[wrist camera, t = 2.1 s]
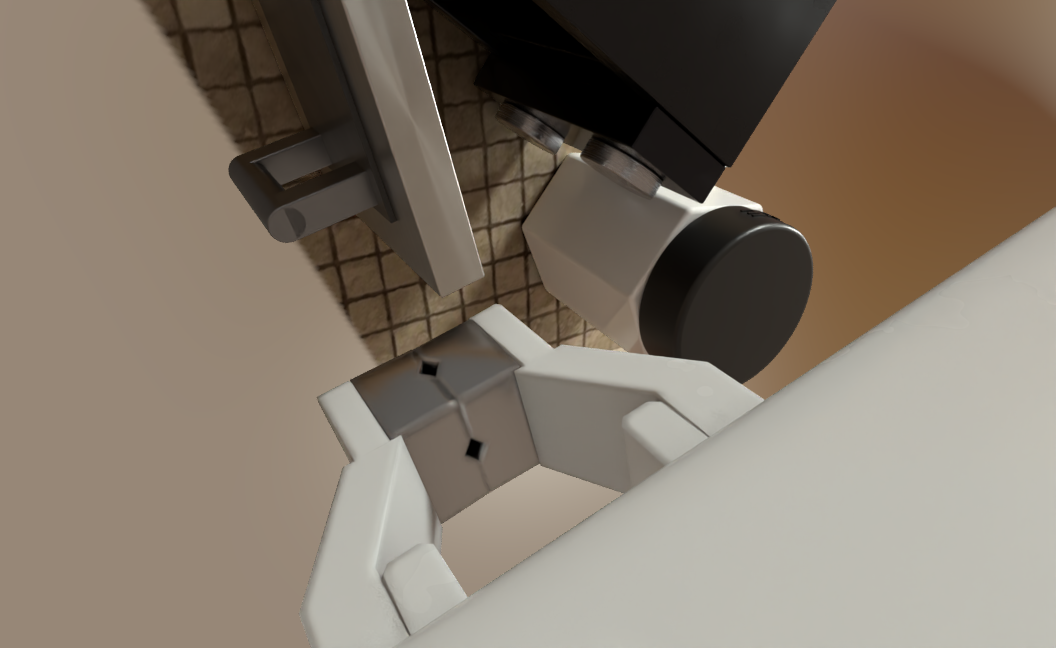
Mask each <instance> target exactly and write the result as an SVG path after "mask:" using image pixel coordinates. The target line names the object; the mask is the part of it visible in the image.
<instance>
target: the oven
mask: <svg viewBox="0 0 1056 648" xmlns="http://www.w3.org/2000/svg"><path fill="white" fill-rule="evenodd" d="M423 1H425V2H426V3H427V4H428V5H430V6H431V7H432V8H434V9H435V10H436V11H437V12H439V13H440V14H441V15H443V16H444V17H445V18H446V19H448V20H449V21H450V22H452V23H453V24H454V25H455V26H457V27H458V28H459V29H461V30H462V31H463V32H464V33H466V34H467V35H468V36H470V37H471V38H472V39H473V40H475V41H476V42H477V43H479V44H480V45H481V46H482V47H484V48H485V49H486V50H488V51H489V52H490V54H489V56H488V58H487V59H486V61H485V63H484V65H483V67H482V68H481V70H480V72H479V74H478V75H477V77H476V79H475V81H474V83H473V84H474V85H475V86H476V87H478V88H479V89H480V90H482V91H483V92H485V93H486V94H487V95H489V96H490V97H491V98H493V99H494V100H496V101H497V102H498V103H500V104H501V106H500V107H499V109H498V111H497V113H496V114H495V118H496V120H498V121H499V122H500V123H501V124H503V125H504V126H505V127H507V128H508V129H510V130H511V131H512V132H514V133H516V134H517V135H519V136H520V137H522V138H523V139H525V140H527V141H528V142H530V143H532V144H533V145H535V146H537V147H539V148H540V149H542V150H544V151H546V152H548V153H550V154H554V155H555V154H556V153H557V151H558V150H559V148H560V146H561V145H562V143H565V144H568V145H570V146H572V147H574V148H577V149H579V150H581V151H582V153H581V154H580V158H581V159H582V160H583V161H584V162H585V163H586V164H588V165H589V166H590V167H592V168H593V169H595V170H596V171H597V172H599V173H600V174H602V175H603V176H605V177H607V178H608V179H610V180H611V181H613V182H615V183H616V184H618V185H620V186H621V187H623V188H625V189H627V190H629V191H630V192H632V193H634V194H636V195H638V196H640V197H643V198H645V199H648V200H652V199H653V198H654V196H655V194H656V193H657V191H658V190H659V188H660V186H662V187H664V188H667V189H669V190H671V191H673V192H676V193H678V194H680V195H682V196H685V197H687V198H689V199H691V200H694V201H696V202H698V203H700V204H703V203H704V201H705V200H706V198H707V197H708V195H709V194H710V192H711V190H712V189H713V187H714V186H715V184H716V182H717V181H718V179H719V178H720V176H721V175H722V173H723V171H724V170H725V166H726V167H731V166H732V165H733V163H734V162H735V160H736V159H737V157H738V155H739V154H740V152H741V151H742V149H743V147H744V146H745V144H746V142H747V141H748V140H749V138H750V136H751V135H752V133H753V132H754V130H755V128H756V127H757V125H758V124H759V122H760V121H761V119H762V117H763V116H764V114H765V113H766V111H767V109H768V108H769V106H770V105H771V103H772V102H773V100H774V98H775V97H776V95H777V94H778V92H779V91H780V89H781V87H782V86H783V84H784V82H785V81H786V79H787V78H788V76H789V75H790V73H791V71H792V70H793V68H794V67H795V65H796V64H797V62H798V60H799V59H800V57H801V56H802V54H803V53H804V51H805V49H806V48H807V46H808V44H809V43H810V42H811V40H812V38H813V37H814V35H815V34H816V32H817V31H818V29H819V27H820V26H821V24H822V22H823V21H824V19H825V18H826V16H827V15H828V13H829V11H830V10H831V8H832V7H833V5H834V4H835V2H836V0H423Z"/></svg>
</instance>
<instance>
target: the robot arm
mask: <svg viewBox="0 0 1056 648" xmlns="http://www.w3.org/2000/svg"><path fill="white" fill-rule="evenodd" d="M317 399H318V402H319V404H320V406H321V408H322V410H323V412H324V414H325V416H326V418H327V420H328V422H329V423H330V425H331V427H332V429H333V431H334V433H335V434H336V437H337V439H338V441H339V442H340V444H341V446H342V448H343V450H344V452H345V454H346V456H347V457H348V460H349V461H350V464H348V465H346V466H345V467H343V469H342V472H341V475H340V479H339V482H338V485H337V489H336V492H335V495H334V499H333V502H332V506H331V509H330V512H329V515H328V519H327V522H326V526H325V529H324V532H323V536H322V539H321V543H320V546H319V549H318V552H317V556H316V559H315V563H314V566H313V569H312V573H311V576H310V579H309V583H308V586H307V589H306V593H305V596H304V599H303V602H302V606H301V609H300V612H299V616H300V618H301V621H302V624H303V627H304V630H305V633H306V635H307V638H308V641H309V644H310V647H311V648H1056V207H1054V208H1053V209H1051V210H1050V211H1048V212H1047V213H1045V214H1044V215H1042V216H1041V217H1039V218H1038V219H1036V220H1035V221H1033V222H1032V223H1030V224H1029V225H1027V226H1026V227H1024V228H1023V229H1021V230H1020V231H1018V232H1017V233H1015V234H1014V235H1012V236H1011V237H1009V238H1008V239H1006V240H1005V241H1003V242H1002V243H1000V244H999V245H997V246H996V247H994V248H993V249H991V250H990V251H988V252H987V253H985V254H984V255H982V256H981V257H979V258H978V259H976V260H975V261H973V262H972V263H970V264H969V265H967V266H966V267H964V268H963V269H961V270H960V271H958V272H957V273H955V274H954V275H952V276H950V277H949V278H947V279H946V280H945V281H943V282H942V283H940V284H938V285H937V286H935V287H934V288H932V289H931V290H929V291H928V292H927V293H925V294H923V295H922V296H920V297H919V298H917V299H916V300H914V301H913V302H911V303H910V304H908V305H907V306H905V307H904V308H902V309H901V310H899V311H898V312H896V313H895V314H893V315H892V316H890V317H889V318H887V319H886V320H884V321H883V322H881V323H880V324H878V325H877V326H875V327H874V328H872V329H871V330H869V331H868V332H866V333H865V334H863V335H862V336H860V337H859V338H857V339H856V340H855V341H853V342H851V343H850V344H848V345H847V346H845V347H844V348H842V349H841V350H839V351H838V352H836V353H835V354H833V355H832V356H831V357H829V358H827V359H826V360H825V361H823V362H821V363H820V364H818V365H817V366H815V367H814V368H812V369H811V370H809V371H808V372H807V373H805V374H803V375H802V376H800V377H799V378H797V379H796V380H795V381H793V382H791V383H790V384H789V385H787V386H785V387H784V388H782V389H781V390H779V391H778V392H777V393H775V394H773V395H772V396H770V397H769V398H767V399H766V400H764V399H762V398H761V397H759V396H758V395H757V394H755V393H754V392H752V391H751V390H749V389H748V388H746V387H745V386H743V385H742V384H740V383H739V382H737V381H736V380H734V379H733V378H731V377H730V376H728V375H727V374H725V373H724V372H722V371H721V370H719V369H718V368H716V367H715V366H713V365H712V364H710V363H709V362H704V361H695V360H687V359H678V358H670V357H662V356H653V355H645V354H636V353H628V352H620V351H611V350H603V349H594V348H586V347H578V346H569V345H560V346H559V347H557V348H555V349H554V348H552V347H551V346H550V345H549V344H548V343H546V342H545V341H544V340H543V339H542V338H540V337H539V336H538V335H537V334H536V333H534V332H533V331H532V330H531V329H530V328H528V327H527V326H526V325H525V324H524V323H522V322H521V321H520V320H519V319H518V318H516V317H515V316H514V315H513V314H512V313H510V312H509V311H508V310H507V309H506V308H504V307H503V306H502V305H499V304H494V305H492V306H491V307H489V308H487V309H485V310H484V311H482V312H480V313H478V314H476V315H475V316H473V317H471V318H469V319H468V321H466V322H464V323H462V324H460V325H458V326H456V327H454V328H453V329H451V330H449V331H447V332H445V333H443V334H441V335H439V336H438V337H436V338H434V339H432V340H430V341H428V342H426V343H424V344H423V345H421V346H419V347H417V348H415V349H413V350H410V351H408V352H406V353H404V354H402V355H400V356H398V357H396V358H393V359H391V360H389V361H387V362H385V363H383V364H381V365H379V366H377V367H375V368H373V369H371V370H369V371H367V372H365V373H363V374H361V375H359V376H357V377H355V378H353V379H351V380H350V382H349V381H347V382H345V383H343V384H341V385H340V386H337V387H335V388H334V389H332V390H330V391H328V392H326V393H324V394H322V395H320V396H318V397H317ZM538 464H541V466H543V467H546V468H549V469H552V470H555V471H558V472H562V473H564V474H567V475H570V476H573V477H576V478H580V479H582V480H585V481H589V482H591V483H594V484H597V485H601V486H603V487H606V488H609V489H612V490H615V491H619V492H621V493H624V494H623V495H621V496H620V497H618V498H616V499H615V500H613V501H612V502H611V503H609V504H607V505H606V506H604V507H603V508H601V509H600V510H599V511H597V512H595V513H594V514H592V515H591V516H590V517H588V518H586V519H585V520H583V521H582V522H580V523H579V524H577V525H576V526H574V527H573V528H571V529H570V530H569V531H567V532H565V533H564V534H562V535H561V536H559V537H558V538H556V539H555V540H553V541H552V542H550V543H549V544H548V545H546V546H544V547H543V548H542V549H540V550H538V551H537V552H536V553H534V554H532V555H531V556H529V557H528V558H526V559H525V560H523V561H522V562H520V563H519V564H517V565H516V566H514V567H513V568H511V569H510V570H508V571H507V572H505V573H504V574H502V575H501V576H499V577H498V578H496V579H495V580H493V581H492V582H490V583H489V584H487V585H486V586H484V587H483V588H481V589H480V590H478V591H477V592H475V593H474V594H472V595H471V596H469V597H467V596H466V594H465V593H464V591H463V589H462V588H461V586H460V585H459V583H458V582H457V580H456V578H455V577H454V576H453V574H452V572H451V571H450V569H449V567H448V566H447V564H446V563H445V561H444V560H443V558H442V557H441V542H442V526H441V524H442V523H444V522H445V521H447V520H448V519H450V518H451V517H453V516H455V515H456V514H457V513H459V512H461V511H462V510H464V509H465V508H467V507H468V506H470V505H471V504H473V503H474V502H476V501H477V500H479V499H480V498H482V497H484V496H485V495H487V494H488V493H489V492H491V491H493V490H495V489H497V488H498V487H500V486H502V485H503V484H505V483H507V482H509V481H510V480H512V479H514V478H515V477H517V476H519V475H521V474H522V473H524V472H526V471H528V470H529V469H531V468H533V467H534V466H536V465H538Z"/></svg>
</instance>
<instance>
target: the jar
mask: <svg viewBox="0 0 1056 648" xmlns="http://www.w3.org/2000/svg"><path fill="white" fill-rule="evenodd" d="M580 154H581V153H569V154H568V155H567V156H566V158H565V159H564V161H563V162H562V164H561V165H560V167H559V169H558V170H557V172H556V173H555V175H554V176H553V178H552V179H551V181H550V183H549V184H548V186H547V187H546V189H545V190H544V192H543V194H542V195H541V197H540V198H539V200H538V201H537V203H536V204H535V206H534V208H533V209H532V211H531V212H530V214H529V215H528V217H527V218H526V220H525V222H524V223H523V225H522V230H523V233H524V235H525V238H526V240H527V243H528V246H529V248H530V251H531V253H532V256H533V259H534V261H535V264H536V266H537V269H538V272H539V274H540V277H541V279H542V282H543V285H544V287H545V289H546V291H547V292H549V293H550V294H551V295H553V296H554V297H555V298H557V299H558V300H559V301H561V302H562V303H563V304H565V305H566V306H567V307H569V308H570V309H571V310H573V311H574V312H575V313H577V314H578V315H579V316H580V317H582V318H583V319H584V320H586V321H587V322H588V323H590V324H591V325H592V326H594V327H595V328H596V329H598V330H599V331H600V332H602V333H603V334H604V335H606V336H607V337H608V338H610V339H611V340H612V341H614V342H615V343H616V344H618V345H619V346H620V347H622V348H623V349H624V350H626V351H627V352H628V353H636V354H645V355H653V356H662V357H670V358H678V359H687V360H695V361H704V362H709V363H710V364H712V365H713V366H715V367H716V368H718V369H719V370H721V371H722V372H724V373H725V374H727V375H728V376H730V377H731V378H733V379H734V380H736V381H737V382H739V383H740V384H743V383H745V382H746V381H748V380H750V379H751V378H752V377H754V376H755V375H757V374H758V373H759V372H760V371H761V370H763V369H764V368H765V367H766V366H767V365H768V364H769V363H770V362H771V361H772V360H773V359H774V358H775V357H776V355H777V354H778V353H779V352H780V350H781V349H782V348H783V347H784V345H785V344H786V343H787V341H788V340H789V338H790V337H791V335H792V334H793V332H794V330H795V328H796V327H797V325H798V323H799V321H800V319H801V317H802V314H803V312H804V310H805V307H806V304H807V301H808V297H809V294H810V290H811V285H812V278H813V261H812V255H811V251H810V248H809V245H808V243H807V241H806V239H805V238H804V236H803V235H802V234H801V233H800V232H799V231H798V230H797V229H795V228H794V227H792V226H790V225H788V224H785V223H783V222H782V221H780V219H778V218H776V217H774V216H771V215H769V214H767V213H764V212H763V209H762V207H761V205H759V204H757V203H755V202H752V201H750V200H747V199H745V198H742V197H740V196H737V195H735V194H733V193H730V192H728V191H725V190H723V189H720V188H718V187H716V186H714V187H713V189H712V190H711V192H710V194H709V195H708V197H707V198H706V200H705V201H704V203H703V204H700V203H698V202H696V201H694V200H691V199H689V198H687V197H685V196H682V195H680V194H678V193H676V192H673V191H671V190H669V189H667V188H664V187H662V186H660V188H659V190H658V191H657V193H656V194H655V196H654V198H653V199H652V200H648V199H645V198H643V197H640V196H638V195H636V194H634V193H632V192H630V191H629V190H627V189H625V188H623V187H621V186H620V185H618V184H616V183H615V182H613V181H611V180H610V179H608V178H607V177H605V176H603V175H602V174H600V173H599V172H597V171H596V170H595V169H593V168H592V167H590V166H589V165H588V164H586V163H585V162H584V161H583V160H582V159H581V158H580Z"/></svg>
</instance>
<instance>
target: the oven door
mask: <svg viewBox="0 0 1056 648" xmlns="http://www.w3.org/2000/svg"><path fill="white" fill-rule="evenodd" d="M252 3H253V5H254V8H255V10H256V12H257V15H258V17H259V20H260V22H261V25H262V27H263V30H264V32H265V34H266V37H267V39H268V42H269V44H270V47H271V49H272V52H273V54H274V56H275V59H276V61H277V64H278V66H279V69H280V71H281V74H282V76H283V78H284V81H285V83H286V86H287V88H288V91H289V93H290V96H291V98H292V100H293V103H294V105H295V108H296V110H297V113H298V115H299V118H300V120H301V122H302V125H303V127H304V131H301V132H298V133H296V134H293V135H291V136H288V137H286V138H283V139H280V140H278V141H275V142H273V143H270V144H268V145H265V146H262V147H260V148H257V149H255V150H252V151H250V152H247V153H244V154H242V155H239V156H237V157H235V158H234V159H233V160H232V161H231V163H230V165H229V175H230V178H231V179H232V181H233V182H234V184H235V185H236V186H237V188H238V189H239V191H240V192H241V193H242V195H243V196H244V198H245V199H246V201H247V202H248V203H249V205H250V206H251V208H252V209H253V210H254V212H255V213H256V214H257V216H258V217H259V219H260V220H261V222H262V223H263V225H264V226H265V228H266V229H267V230H268V232H269V233H270V235H271V236H272V237H273V238H274V239H276V240H278V241H280V242H285V243H288V242H294V241H296V240H299V239H301V238H303V237H305V236H308V235H310V234H312V233H315V232H317V231H319V230H321V229H324V228H326V227H328V226H330V225H333V224H335V223H337V222H340V221H342V220H344V219H346V218H349V217H351V216H353V215H357V216H358V217H359V218H360V219H361V220H362V221H363V222H364V223H365V224H366V225H367V226H368V227H369V228H370V229H371V230H372V231H374V232H375V233H376V234H377V235H378V236H379V237H380V238H381V239H382V240H383V241H384V242H385V243H386V244H387V245H388V246H389V247H390V248H391V249H392V250H393V251H394V252H395V253H396V254H397V255H398V256H399V257H400V258H401V259H402V260H403V261H405V262H406V263H407V264H408V265H409V266H410V267H411V268H412V269H413V270H414V271H415V272H416V273H417V274H418V275H419V276H420V277H421V278H422V279H423V280H424V281H425V282H426V283H427V284H428V285H429V286H430V287H431V288H432V289H433V290H434V291H436V292H437V293H438V294H439V295H440V296H441V297H445V296H447V295H449V294H451V293H453V292H455V291H457V290H459V289H461V288H463V287H465V286H467V285H469V284H471V283H473V282H475V281H477V280H479V279H481V278H483V277H484V271H483V268H482V264H481V261H480V257H479V254H478V250H477V247H476V243H475V240H474V236H473V233H472V229H471V226H470V222H469V219H468V215H467V212H466V208H465V204H464V201H463V197H462V194H461V190H460V187H459V183H458V180H457V176H456V173H455V169H454V166H453V162H452V159H451V155H450V152H449V148H448V145H447V141H446V138H445V134H444V131H443V127H442V124H441V120H440V116H439V113H438V109H437V106H436V102H435V99H434V95H433V92H432V88H431V85H430V81H429V78H428V74H427V71H426V67H425V64H424V60H423V57H422V53H421V50H420V46H419V43H418V39H417V36H416V32H415V28H414V25H413V21H412V18H411V14H410V11H409V7H408V4H407V0H252ZM319 169H321V171H322V174H323V175H320V176H318V177H315V178H313V179H310V180H308V181H306V182H303V183H301V184H298V185H296V186H293V187H291V188H289V189H286V190H284V188H283V187H282V186H281V185H283V184H285V183H288V182H290V181H293V180H295V179H298V178H300V177H302V176H305V175H307V174H310V173H312V172H315V171H317V170H319Z"/></svg>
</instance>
